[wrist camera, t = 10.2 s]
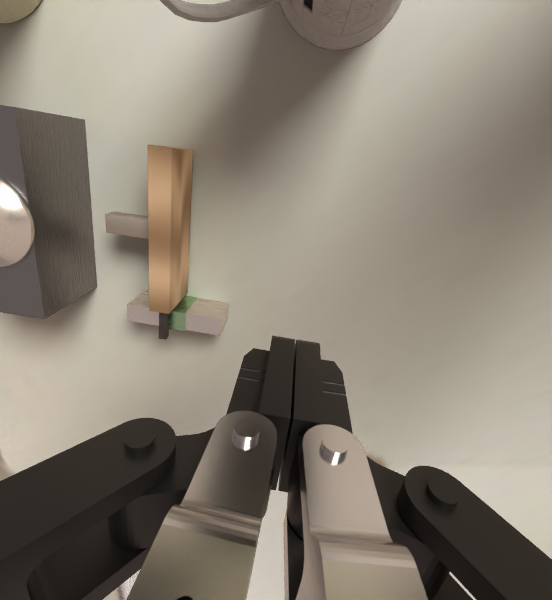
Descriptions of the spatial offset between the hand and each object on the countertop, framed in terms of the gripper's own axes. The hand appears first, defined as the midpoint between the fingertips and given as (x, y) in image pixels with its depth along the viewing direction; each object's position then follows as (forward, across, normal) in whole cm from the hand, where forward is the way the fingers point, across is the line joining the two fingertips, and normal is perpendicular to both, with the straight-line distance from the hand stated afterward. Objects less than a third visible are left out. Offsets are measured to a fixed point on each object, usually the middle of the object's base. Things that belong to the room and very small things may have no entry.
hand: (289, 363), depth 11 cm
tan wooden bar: (+19, +12, +2) cm, 22 cm away
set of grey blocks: (+19, +15, +1) cm, 24 cm away
